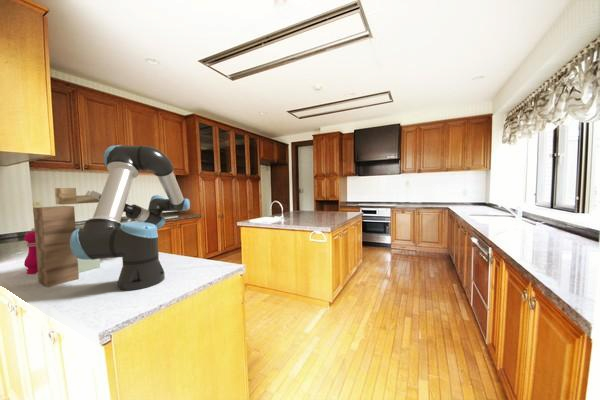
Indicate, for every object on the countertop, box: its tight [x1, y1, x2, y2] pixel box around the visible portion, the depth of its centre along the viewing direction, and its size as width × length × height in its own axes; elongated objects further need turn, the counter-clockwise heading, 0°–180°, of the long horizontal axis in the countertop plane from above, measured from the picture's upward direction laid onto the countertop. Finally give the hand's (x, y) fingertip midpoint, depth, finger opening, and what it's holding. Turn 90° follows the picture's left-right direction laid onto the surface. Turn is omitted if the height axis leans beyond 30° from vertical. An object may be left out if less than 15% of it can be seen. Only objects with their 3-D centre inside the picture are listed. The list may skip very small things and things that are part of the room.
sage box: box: [75, 225, 101, 274], centre depth 105 cm, size 7×12×20 cm, turn 153°
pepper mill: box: [23, 227, 38, 275], centre depth 104 cm, size 7×7×20 cm
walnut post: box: [32, 205, 80, 288], centre depth 92 cm, size 9×9×30 cm
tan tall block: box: [54, 187, 99, 206], centre depth 107 cm, size 7×18×7 cm, turn 153°
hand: (89, 193), depth 108 cm, fingers closed on tan tall block, 4 cm apart
